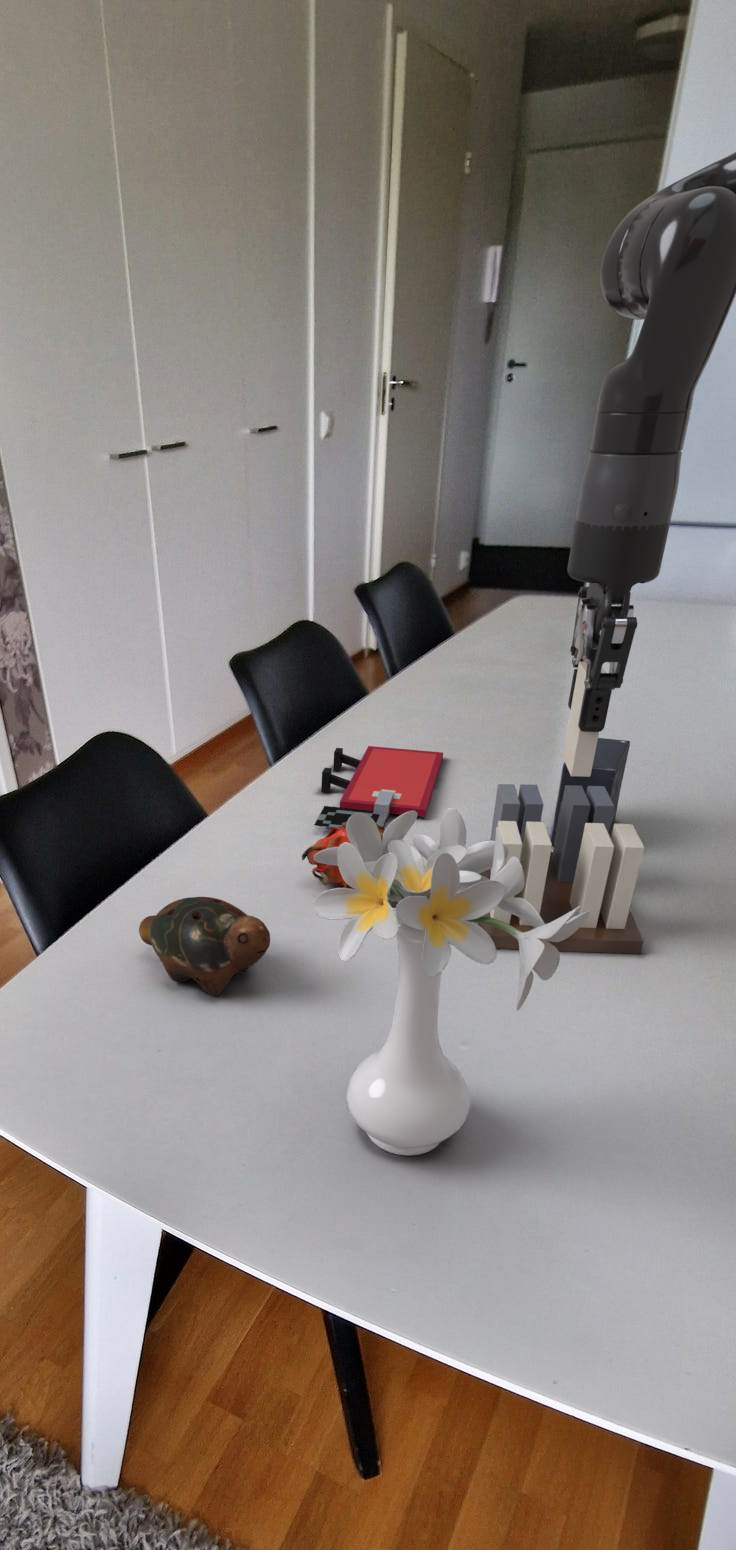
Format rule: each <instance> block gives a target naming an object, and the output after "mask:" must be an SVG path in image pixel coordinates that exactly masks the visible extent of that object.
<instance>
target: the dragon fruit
mask: <svg viewBox="0 0 736 1550" xmlns="http://www.w3.org/2000/svg"><path fill="white" fill-rule="evenodd" d="M375 823H376V822H375ZM346 824H347V822H344V823H342V826H338V827H330V831H329V832H328V833H327V835H326V836H324V837H323V838H320V839H318V840H317V841H316V842H315V843H314V844H313V845H310V846H309V847H308V848H306V850H304V851H303V853H302V855H301V862H303V861H304V860H305V859H307V860H308V864H309V865H312V866H315V865H316V867H314V868H312V869H311V873H312V875H313V876H314V877H315V878H316V879H318V880H319V882H320V883H322V884H323V885H324V886H326V884H332V883H334V884H336V885H337V886H340V887H343V888H348V889H353V888H352V887H350V886H349V885H348V884H346V882H345V881H344V879H343V878H342V875H341V873H340V870H339V867H338V866H335V865H328V864H322V863H318V862H316V861H315V860H314V855H315V854H317V853H318V852H320V851H322V850H324V849H328V848H332V847H340V845H341V844H342V843H344V842H348V843H350V841H349V839H348V836H347V832H346ZM376 826H377V827H378V830H379V833H380V837H381V840H382V839H383V833H384V831H385V829H386V828H384V826H383V827H382V826H380V825H379V824H377V823H376ZM350 844H351V843H350ZM397 872H398V871H397ZM317 873H318V874H317ZM398 874H399V873H398ZM354 890H355V889H354Z"/></svg>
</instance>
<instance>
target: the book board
mask: <svg viewBox="0 0 736 1550" xmlns="http://www.w3.org/2000/svg"><path fill="white" fill-rule="evenodd" d="M552 855H553V851H551V854H550V859H549V865H548V870H547V876H546V882H545V887H544V893H543V898H542V904H541V909H540V917H541V918H542V920H543V921H544V923H545V924H548V923H550V922H552V921H554V920H556V919H558V918H560V917H562V916H563V915H565V914H567V913H568V912H570V911H572V907H571V904H570V897H571V892H572V887H573V882H558V879H557V876H556V872H555V869H554V866H553V863H552ZM479 874H480V875H481V876H484V877H486V878H488V879H489V880H490V876H491V872H490V869H489V870H486V871H483V872H481V873H479ZM514 896H515V895H514ZM483 917H490V918H491V916H490V912H489V913H487V914H486V915H484V916H483ZM573 917H574V916H573ZM473 923H475V922H473ZM475 924H477V925H478V926H480V927H481V928H482V929H483V930H484V931H486V932H487V934H488V935H489V936H490V937H491V939H492V940H493V942H494V945H495V947H496V949H501V950H502V949H503V950H504V949H505V950H519V941H518V939H516V938H515V937H513V936H512V935H510V934H509V933H508V932H506V931H504V930H502V929H500V928H498V927H495V926H493V925H489V924H484V923H475ZM509 925H511V926H512V927H514V928H515V929H517V930H519V931H521V932H523V933H524V932H528V931H531V930H532V929H535V927H533V926H526V925H520V924H519V920H518V916H515V915H513V914H511V919H510V924H509ZM547 942H549V943H550V944H552V945H553V946H555V947H556V948H557V950H558V952H578V953H605V954H626V955H627V954H628V955H629V954H630V955H641V954H642V950H643V946H644V943H645V942H644V939H643V936H642V935H641V932H640V930H639V926H638V925H637V923H636V920H635V918H634V916H633V913H632V911H631V908H630V909H629V913H628V917H627V921H626V925H625V929H607V928H606V926H605V923H604V920H603V918H602V915H601V912H600V913H599V917H598V922H597V926H596V928H579V929H578V930H577V931H575V932H574V933H573V934H572V935H571V936H569V937H568V938H566V939H565V940H562V941H560V942H550V941H547Z"/></svg>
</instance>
